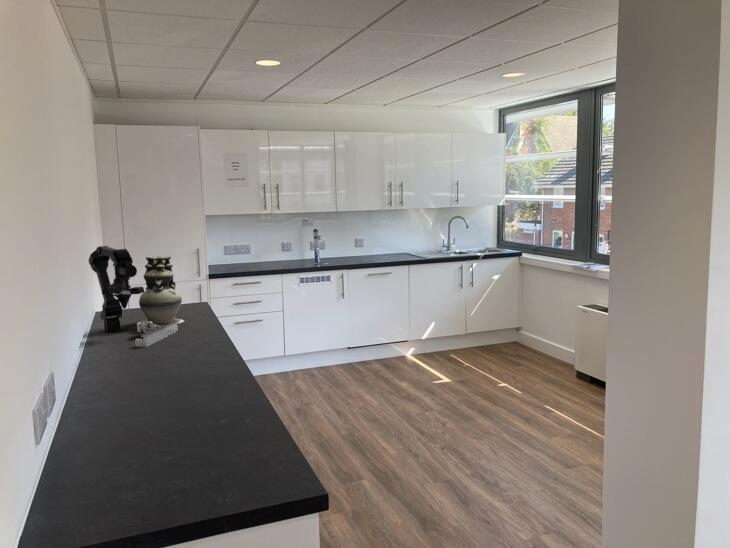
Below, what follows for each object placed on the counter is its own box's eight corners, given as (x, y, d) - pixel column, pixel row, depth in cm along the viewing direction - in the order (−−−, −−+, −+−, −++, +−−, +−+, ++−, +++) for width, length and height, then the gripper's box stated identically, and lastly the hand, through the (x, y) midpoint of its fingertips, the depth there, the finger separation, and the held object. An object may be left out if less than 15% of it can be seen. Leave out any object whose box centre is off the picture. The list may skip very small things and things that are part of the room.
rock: (164, 337, 275) (163, 322, 274) (141, 340, 271) (139, 325, 270) (161, 332, 288) (160, 318, 288) (139, 334, 284) (138, 320, 284)
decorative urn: (167, 318, 323) (162, 254, 319) (192, 321, 310) (187, 254, 307) (132, 325, 306) (126, 258, 302) (157, 328, 293) (151, 258, 290)
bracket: (135, 346, 260) (134, 335, 259) (167, 331, 289) (167, 321, 288) (147, 346, 259) (147, 335, 258) (178, 331, 288) (178, 321, 287)
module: (137, 332, 288) (136, 322, 287) (140, 330, 292) (139, 320, 291) (150, 332, 288) (149, 322, 287) (152, 330, 292) (152, 320, 291)
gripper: (93, 278, 272) (96, 311, 274) (130, 278, 270) (133, 311, 272) (107, 275, 283) (110, 307, 285) (143, 274, 280) (146, 307, 282)
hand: (124, 308), depth 281 cm, fingers closed
